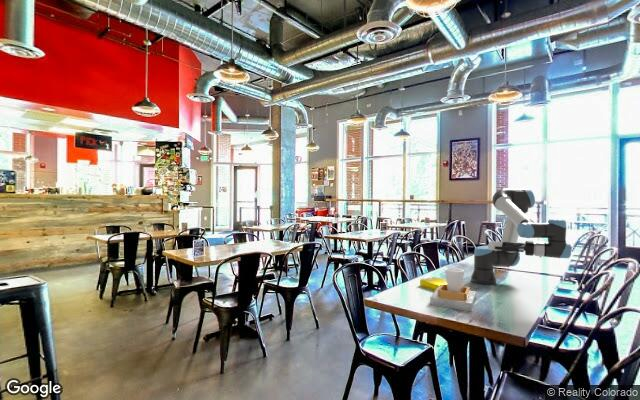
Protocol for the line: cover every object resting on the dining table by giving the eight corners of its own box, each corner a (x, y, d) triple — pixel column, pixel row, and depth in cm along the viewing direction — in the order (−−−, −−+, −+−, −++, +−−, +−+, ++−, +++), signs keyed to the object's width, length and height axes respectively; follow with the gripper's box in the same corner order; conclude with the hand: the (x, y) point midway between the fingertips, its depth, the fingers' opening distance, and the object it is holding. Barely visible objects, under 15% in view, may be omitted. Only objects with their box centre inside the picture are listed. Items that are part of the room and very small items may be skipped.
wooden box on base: (438, 293, 200) (438, 281, 200) (476, 298, 191) (476, 285, 190) (430, 304, 179) (430, 291, 179) (471, 311, 170) (472, 297, 170)
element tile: (437, 292, 203) (437, 284, 203) (418, 286, 216) (418, 278, 216) (454, 289, 211) (454, 281, 211) (435, 283, 224) (435, 276, 224)
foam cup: (449, 290, 192) (449, 267, 191) (466, 293, 185) (466, 269, 185) (441, 293, 185) (442, 269, 185) (459, 297, 178) (459, 272, 178)
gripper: (535, 259, 168) (487, 255, 178) (532, 252, 189) (489, 248, 200) (535, 244, 168) (487, 241, 178) (532, 238, 189) (490, 235, 200)
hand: (488, 245), depth 189 cm, fingers open, 13 cm apart
